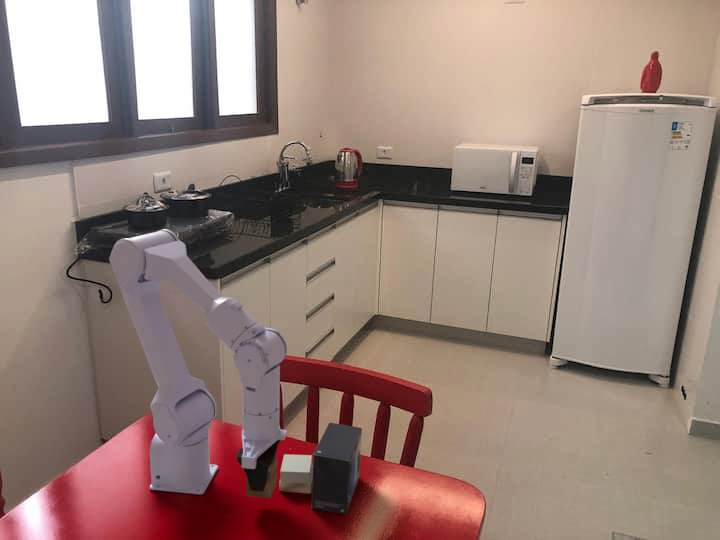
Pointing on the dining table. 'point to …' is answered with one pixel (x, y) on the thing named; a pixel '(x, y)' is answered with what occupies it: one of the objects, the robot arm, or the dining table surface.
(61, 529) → the dining table surface
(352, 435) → the small box
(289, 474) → the tower top
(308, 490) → the tower base
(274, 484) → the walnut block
